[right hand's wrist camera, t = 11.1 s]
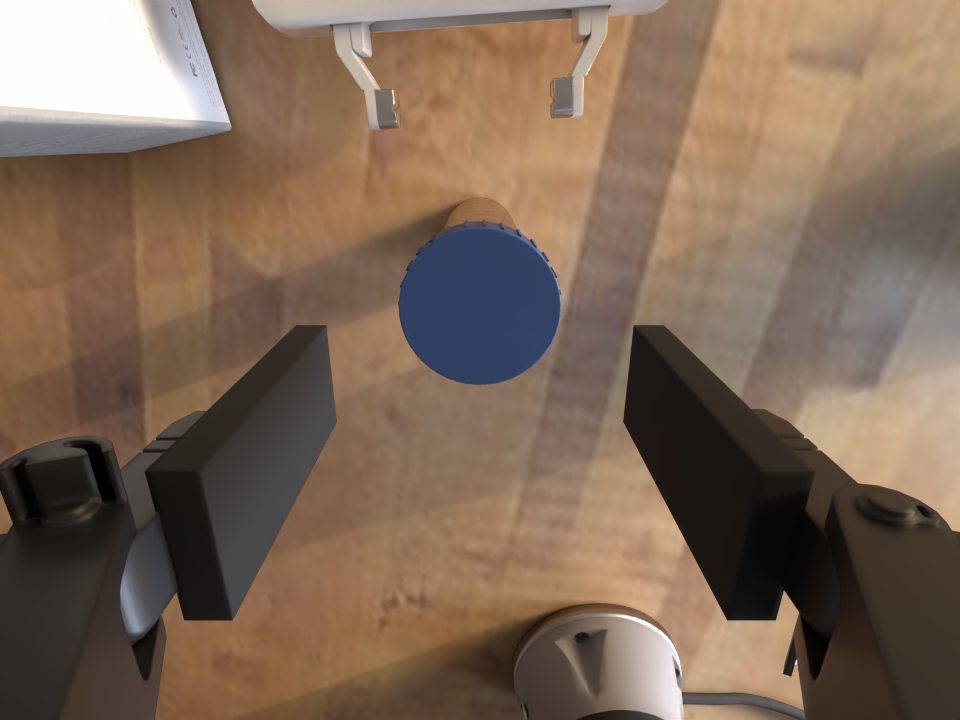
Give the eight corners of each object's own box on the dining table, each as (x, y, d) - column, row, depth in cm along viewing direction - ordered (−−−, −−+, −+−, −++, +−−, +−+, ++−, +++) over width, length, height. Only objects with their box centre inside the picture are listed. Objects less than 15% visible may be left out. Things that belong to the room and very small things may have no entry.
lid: (475, 394, 23) (474, 415, 21) (372, 291, 21) (362, 305, 19) (586, 302, 21) (597, 316, 19) (485, 184, 20) (486, 188, 18)
